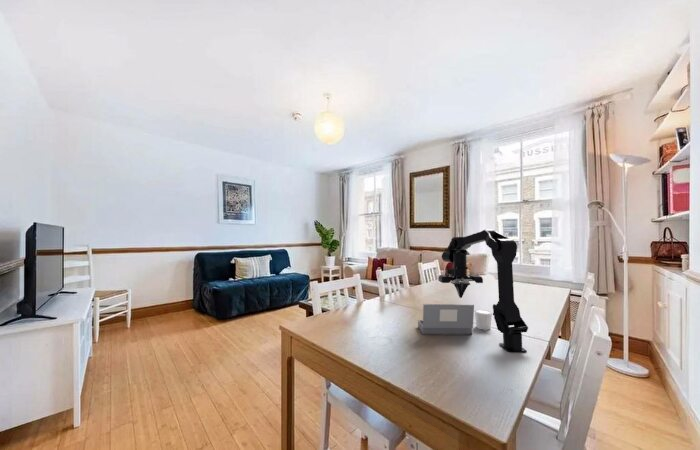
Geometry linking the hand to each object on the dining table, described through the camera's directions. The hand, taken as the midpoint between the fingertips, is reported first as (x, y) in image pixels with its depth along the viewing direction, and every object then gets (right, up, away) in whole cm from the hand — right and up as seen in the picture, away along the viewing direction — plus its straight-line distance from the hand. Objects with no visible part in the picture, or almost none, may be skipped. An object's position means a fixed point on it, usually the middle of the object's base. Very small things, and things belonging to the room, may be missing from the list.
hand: (460, 297), depth 124 cm
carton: (-11, -12, -10) cm, 19 cm away
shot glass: (+8, -12, -6) cm, 15 cm away
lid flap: (-11, -4, -15) cm, 19 cm away
